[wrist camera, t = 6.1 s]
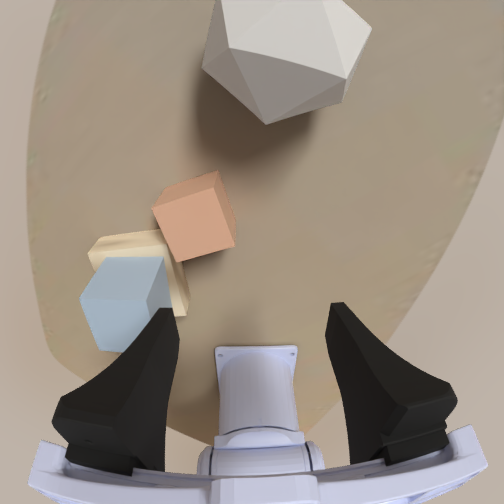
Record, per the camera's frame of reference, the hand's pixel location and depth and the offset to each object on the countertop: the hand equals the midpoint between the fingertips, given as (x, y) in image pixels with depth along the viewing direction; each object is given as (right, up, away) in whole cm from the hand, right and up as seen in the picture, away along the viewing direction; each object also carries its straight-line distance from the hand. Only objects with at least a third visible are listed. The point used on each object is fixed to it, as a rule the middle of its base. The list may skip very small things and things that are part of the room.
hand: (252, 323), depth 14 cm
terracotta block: (-4, +7, +8) cm, 11 cm away
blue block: (-8, +1, +8) cm, 12 cm away
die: (+2, +16, +3) cm, 17 cm away
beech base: (-9, +2, +11) cm, 14 cm away
